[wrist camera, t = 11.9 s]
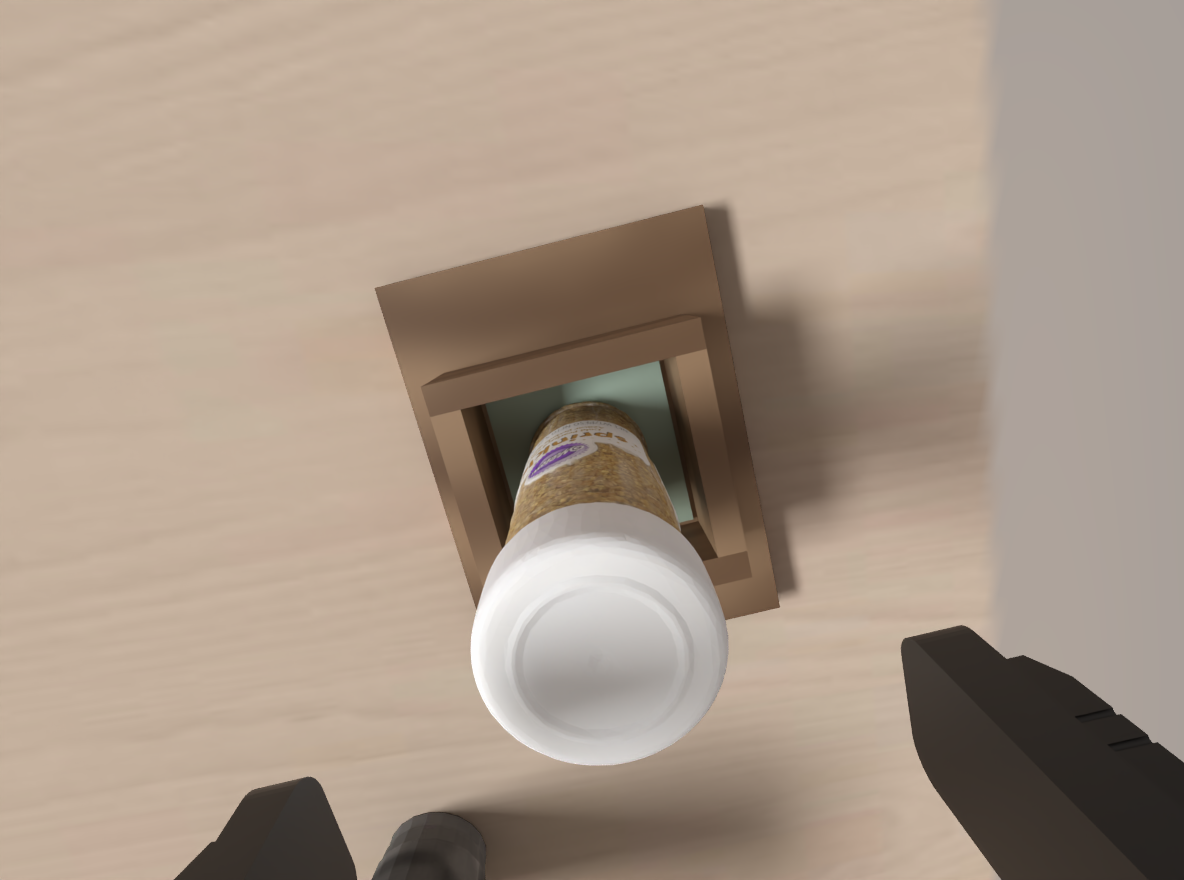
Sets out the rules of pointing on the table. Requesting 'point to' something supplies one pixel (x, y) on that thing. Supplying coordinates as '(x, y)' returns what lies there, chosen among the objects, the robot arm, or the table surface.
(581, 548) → the sprinkles bottle
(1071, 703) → the robot arm
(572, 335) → the wooden square holder
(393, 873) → the beverage cup
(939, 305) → the table surface
